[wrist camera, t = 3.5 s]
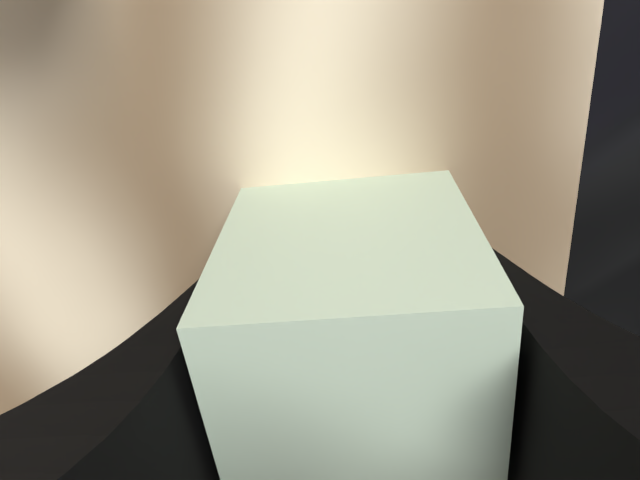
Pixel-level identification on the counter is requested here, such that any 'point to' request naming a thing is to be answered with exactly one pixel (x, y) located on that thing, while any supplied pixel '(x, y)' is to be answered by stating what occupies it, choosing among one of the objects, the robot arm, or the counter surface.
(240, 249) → the sage block
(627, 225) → the counter surface
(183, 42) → the build board
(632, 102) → the counter surface
